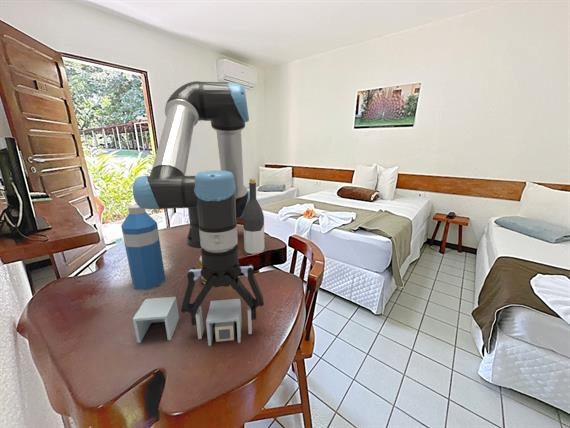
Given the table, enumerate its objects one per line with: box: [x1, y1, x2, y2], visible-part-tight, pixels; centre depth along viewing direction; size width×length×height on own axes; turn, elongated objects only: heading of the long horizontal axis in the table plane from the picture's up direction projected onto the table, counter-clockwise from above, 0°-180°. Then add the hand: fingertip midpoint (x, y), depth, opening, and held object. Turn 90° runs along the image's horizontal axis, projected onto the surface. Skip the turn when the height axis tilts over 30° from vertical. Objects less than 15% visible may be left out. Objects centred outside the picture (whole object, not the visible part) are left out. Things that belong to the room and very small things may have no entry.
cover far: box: [205, 298, 242, 347], centre depth 57 cm, size 7×7×6 cm
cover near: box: [132, 296, 180, 344], centre depth 57 cm, size 7×7×6 cm
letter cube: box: [214, 321, 236, 342], centre depth 56 cm, size 4×4×4 cm
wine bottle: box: [242, 178, 266, 256], centre depth 94 cm, size 8×8×30 cm
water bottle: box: [120, 204, 166, 291], centre depth 74 cm, size 9×9×25 cm
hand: (225, 332), depth 57 cm, fingers open, 11 cm apart
